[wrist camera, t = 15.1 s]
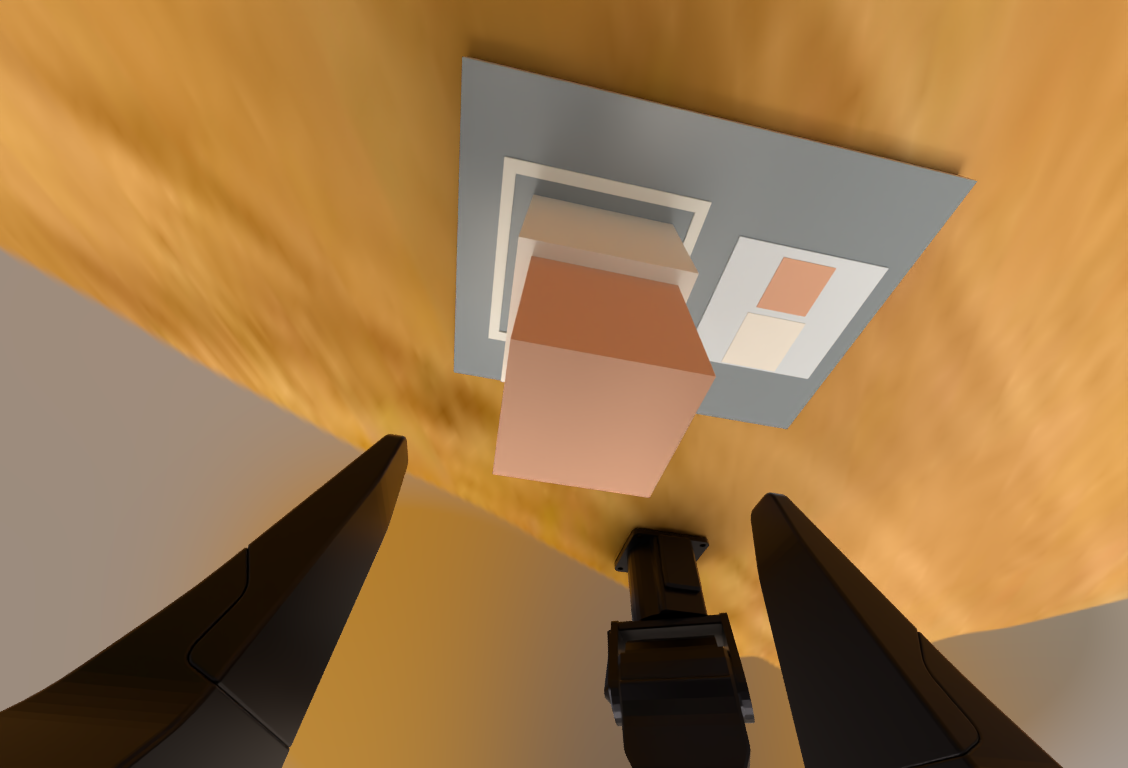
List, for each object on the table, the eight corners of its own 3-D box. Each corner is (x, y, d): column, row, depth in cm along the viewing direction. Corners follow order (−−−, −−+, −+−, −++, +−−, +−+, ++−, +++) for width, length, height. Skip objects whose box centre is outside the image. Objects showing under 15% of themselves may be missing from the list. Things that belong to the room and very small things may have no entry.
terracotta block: (633, 395, 17) (649, 497, 13) (513, 374, 16) (492, 474, 12) (678, 285, 14) (715, 376, 10) (531, 255, 13) (510, 339, 9)
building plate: (780, 417, 25) (787, 430, 24) (458, 361, 24) (453, 373, 23) (958, 175, 17) (980, 181, 16) (468, 56, 15) (461, 56, 14)
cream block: (631, 340, 21) (642, 405, 17) (516, 319, 20) (500, 381, 17) (672, 224, 17) (698, 273, 13) (533, 194, 17) (518, 236, 13)
